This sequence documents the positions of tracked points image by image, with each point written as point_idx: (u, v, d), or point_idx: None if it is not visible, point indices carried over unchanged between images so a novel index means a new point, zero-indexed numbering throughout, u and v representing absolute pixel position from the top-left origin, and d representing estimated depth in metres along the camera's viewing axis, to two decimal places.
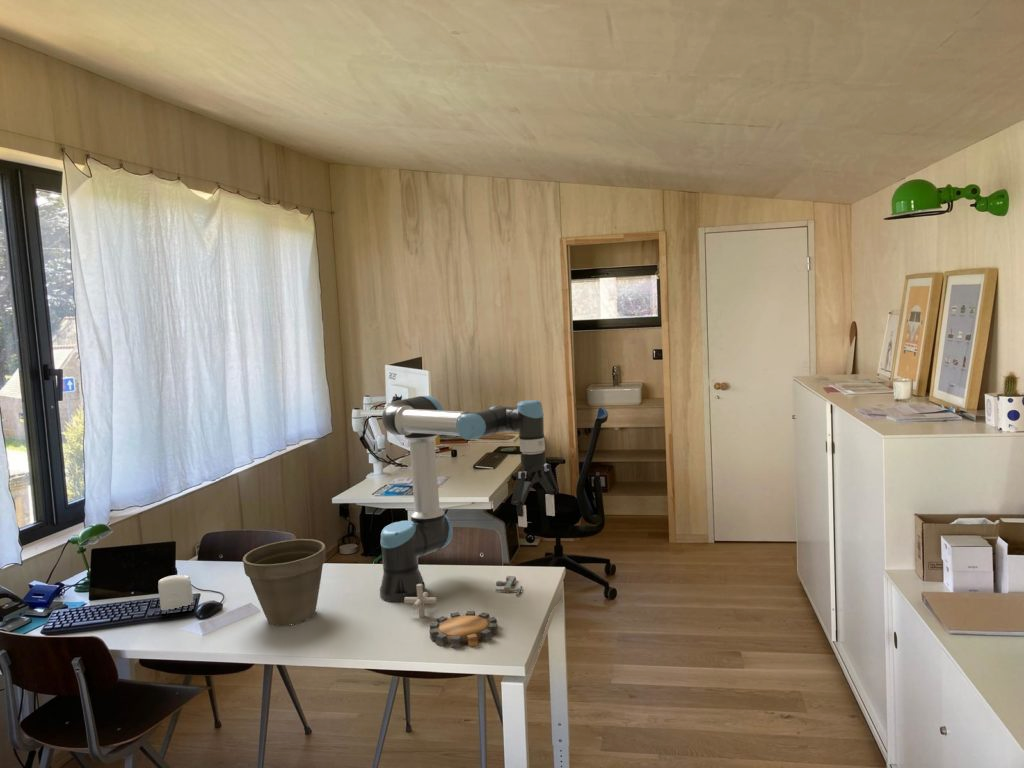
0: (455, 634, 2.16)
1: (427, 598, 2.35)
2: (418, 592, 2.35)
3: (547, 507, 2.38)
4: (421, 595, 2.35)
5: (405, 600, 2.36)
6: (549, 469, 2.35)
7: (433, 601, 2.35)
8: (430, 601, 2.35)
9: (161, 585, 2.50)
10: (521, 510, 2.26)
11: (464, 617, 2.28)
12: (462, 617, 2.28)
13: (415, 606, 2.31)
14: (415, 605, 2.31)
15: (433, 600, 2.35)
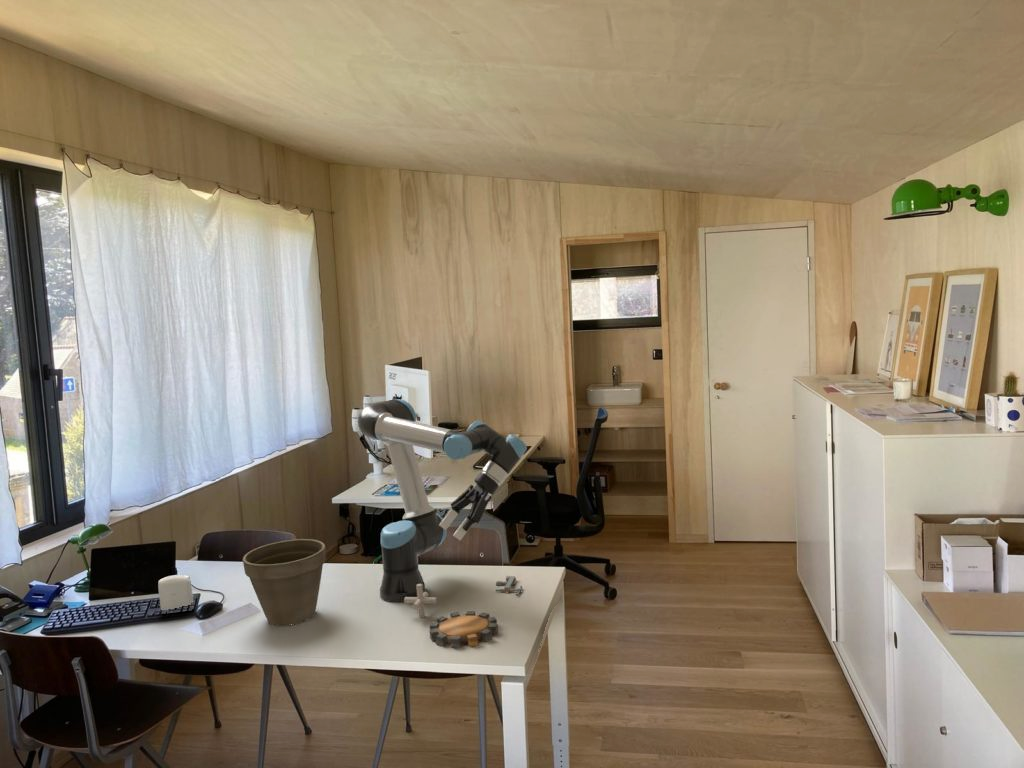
0: (455, 634, 2.16)
1: (427, 598, 2.35)
2: (418, 592, 2.35)
3: (445, 520, 2.45)
4: (421, 595, 2.35)
5: (405, 600, 2.36)
6: None
7: (433, 601, 2.35)
8: (430, 601, 2.35)
9: (161, 585, 2.50)
10: None
11: (464, 617, 2.28)
12: (462, 617, 2.28)
13: (415, 606, 2.31)
14: (415, 605, 2.31)
15: (433, 600, 2.35)
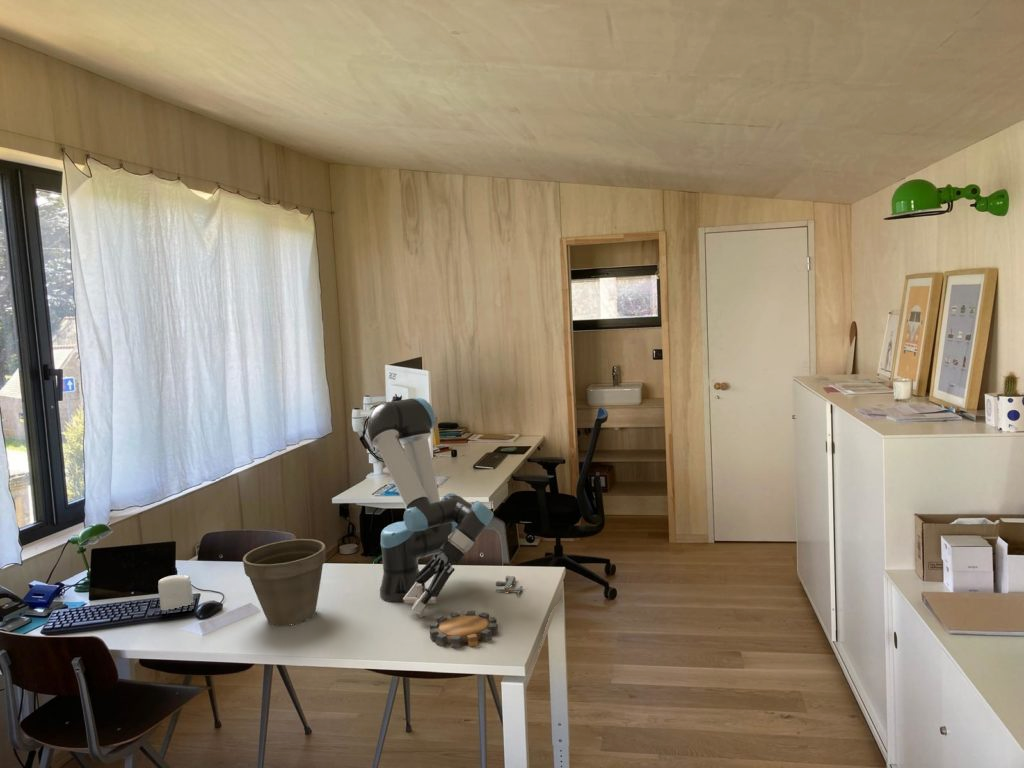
0: (455, 634, 2.16)
1: None
2: (418, 592, 2.35)
3: (409, 593, 2.39)
4: (421, 595, 2.36)
5: (405, 600, 2.37)
6: None
7: (433, 601, 2.35)
8: (430, 601, 2.35)
9: (161, 585, 2.50)
10: None
11: (464, 617, 2.28)
12: (462, 617, 2.28)
13: None
14: None
15: (433, 600, 2.35)
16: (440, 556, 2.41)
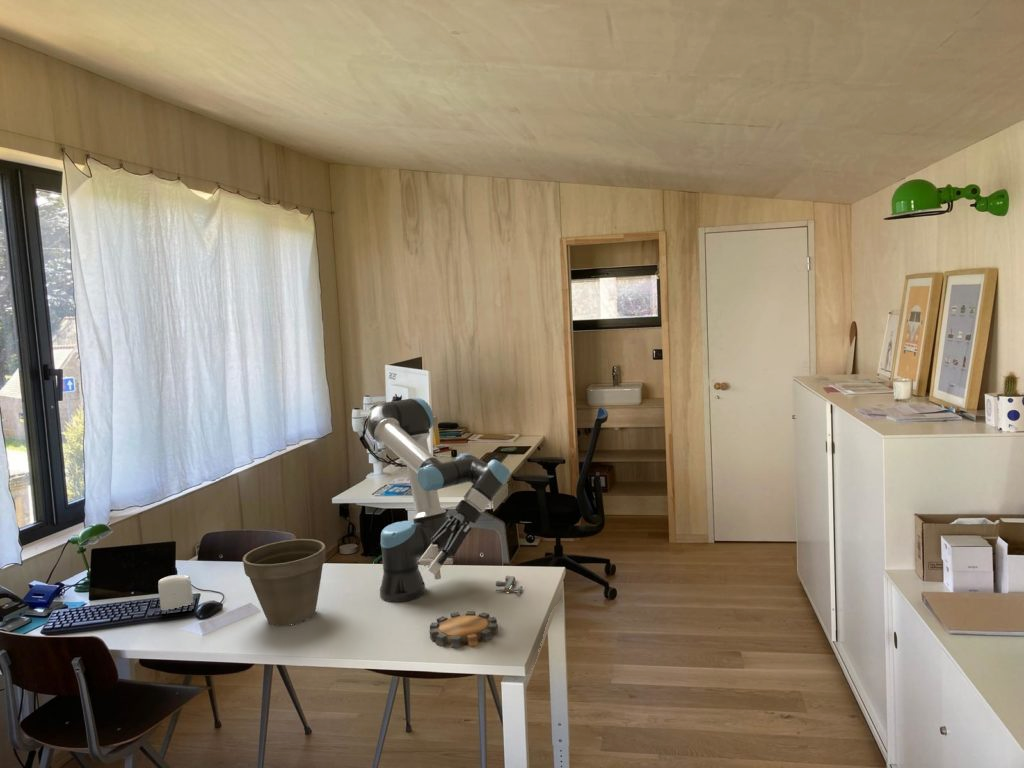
0: (455, 634, 2.16)
1: None
2: (433, 553, 2.27)
3: (425, 556, 2.31)
4: (436, 556, 2.27)
5: (420, 562, 2.28)
6: None
7: (449, 562, 2.26)
8: (446, 562, 2.26)
9: (161, 585, 2.50)
10: None
11: (464, 617, 2.28)
12: (462, 617, 2.28)
13: None
14: None
15: (449, 561, 2.26)
16: (456, 516, 2.32)
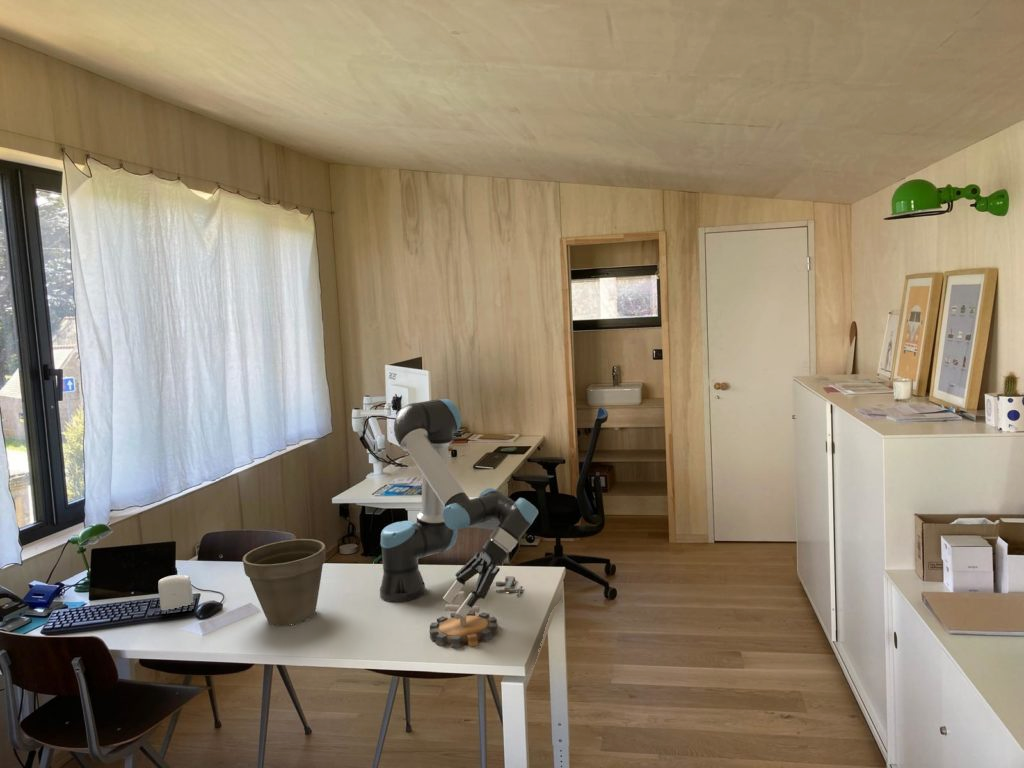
0: (455, 634, 2.16)
1: None
2: (460, 600, 2.20)
3: (450, 592, 2.26)
4: None
5: (446, 608, 2.22)
6: None
7: (476, 610, 2.20)
8: (473, 610, 2.20)
9: (161, 585, 2.50)
10: None
11: None
12: None
13: (457, 616, 2.17)
14: (457, 615, 2.17)
15: (476, 609, 2.19)
16: (482, 557, 2.26)
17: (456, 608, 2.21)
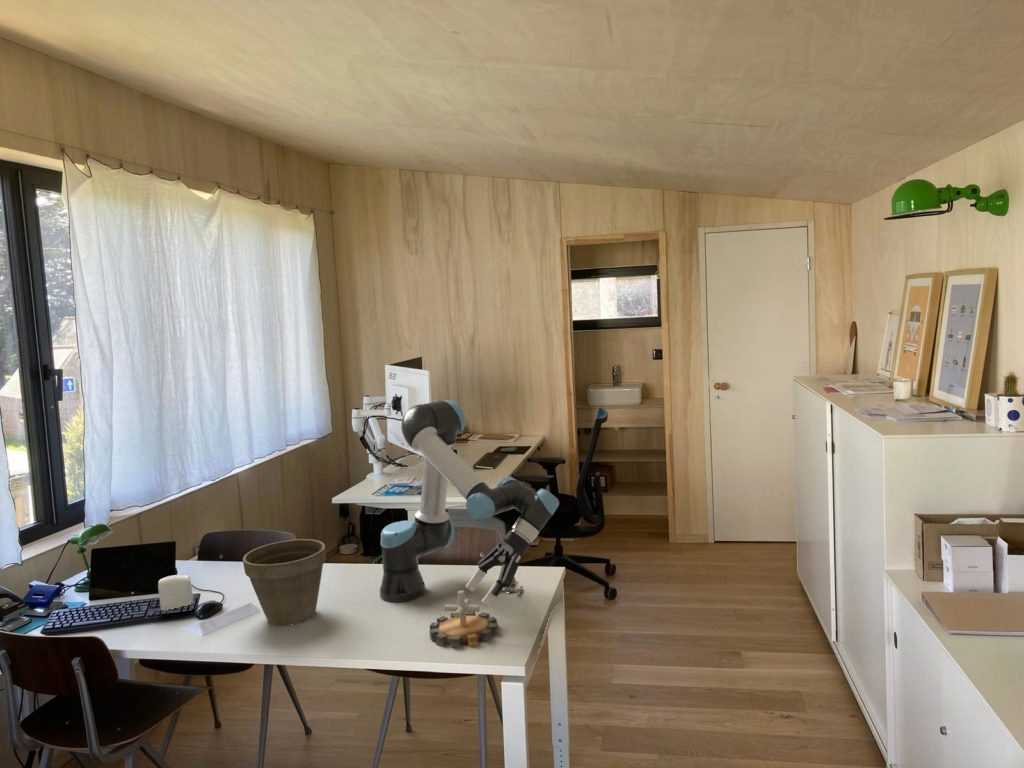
0: (455, 634, 2.16)
1: (469, 606, 2.21)
2: (459, 599, 2.21)
3: (472, 581, 2.29)
4: (463, 603, 2.21)
5: (446, 608, 2.22)
6: None
7: (476, 609, 2.20)
8: (472, 609, 2.20)
9: (161, 585, 2.50)
10: None
11: None
12: None
13: (457, 615, 2.17)
14: (457, 613, 2.17)
15: (476, 608, 2.20)
16: (503, 547, 2.28)
17: (456, 608, 2.21)
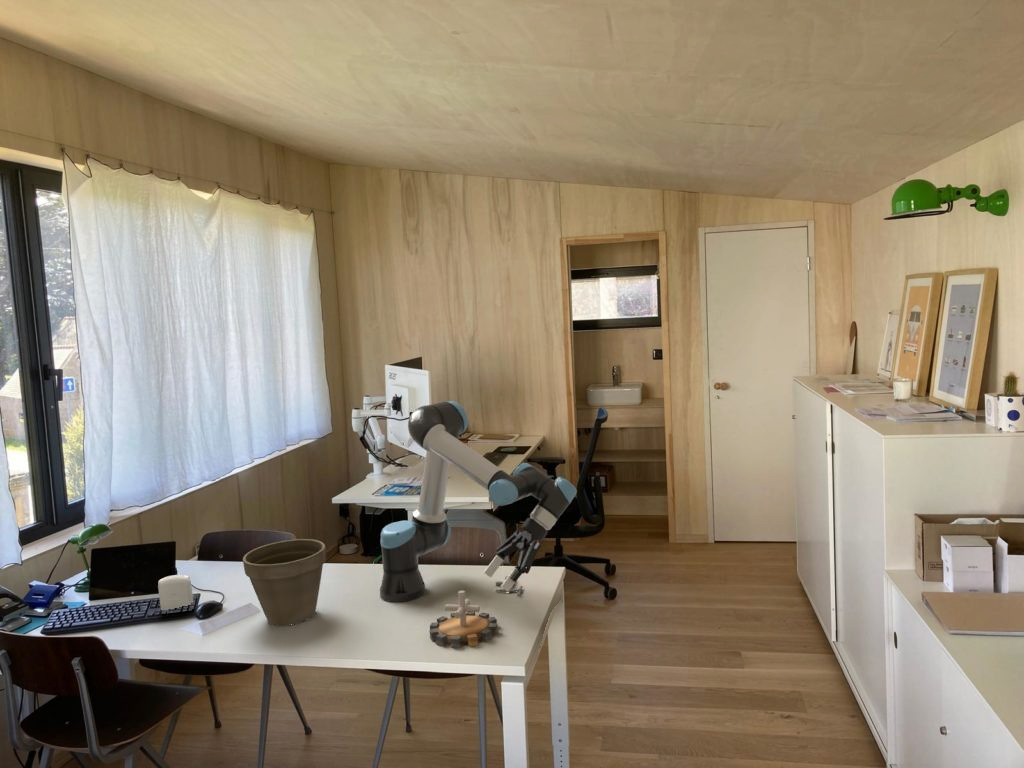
0: (455, 634, 2.16)
1: (469, 606, 2.21)
2: (460, 599, 2.21)
3: (490, 567, 2.32)
4: (463, 603, 2.21)
5: (446, 608, 2.22)
6: None
7: (476, 610, 2.20)
8: (473, 609, 2.20)
9: (161, 585, 2.50)
10: None
11: None
12: None
13: (457, 615, 2.17)
14: (457, 614, 2.17)
15: (476, 609, 2.20)
16: (521, 534, 2.31)
17: (456, 608, 2.21)
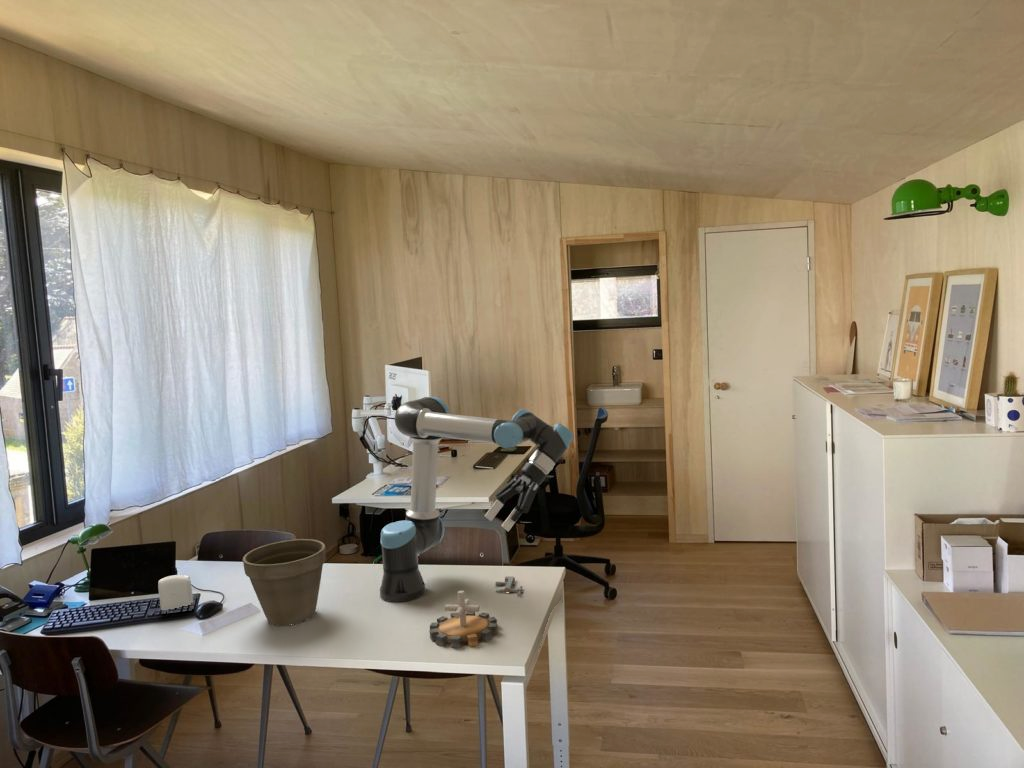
0: (455, 634, 2.16)
1: (469, 606, 2.21)
2: (459, 600, 2.21)
3: (491, 511, 2.40)
4: (463, 603, 2.21)
5: (446, 608, 2.22)
6: None
7: (475, 609, 2.20)
8: (472, 609, 2.20)
9: (161, 585, 2.50)
10: None
11: None
12: None
13: (457, 615, 2.17)
14: (457, 614, 2.17)
15: (476, 608, 2.20)
16: (521, 479, 2.39)
17: (456, 608, 2.21)
